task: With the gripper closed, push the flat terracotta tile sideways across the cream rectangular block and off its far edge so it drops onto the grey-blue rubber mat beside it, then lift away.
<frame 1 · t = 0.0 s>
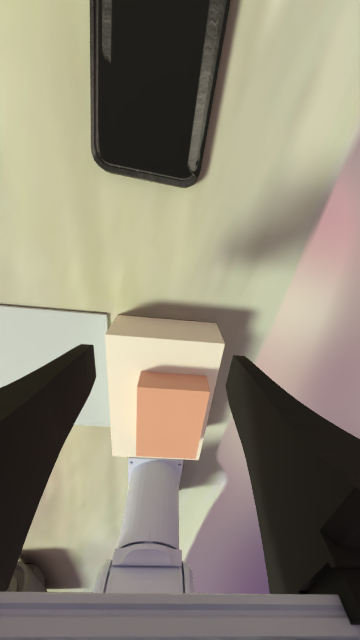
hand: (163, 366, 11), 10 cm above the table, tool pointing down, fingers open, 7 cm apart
bluetooth speaker: (35, 571, 48), on the table
cream rectangular block: (162, 380, 24), on the table
terracotta tile: (170, 409, 20), point 4 cm above the table, touching cream rectangular block
phone: (158, 44, 13), on the table
mat: (43, 372, 23), on the table
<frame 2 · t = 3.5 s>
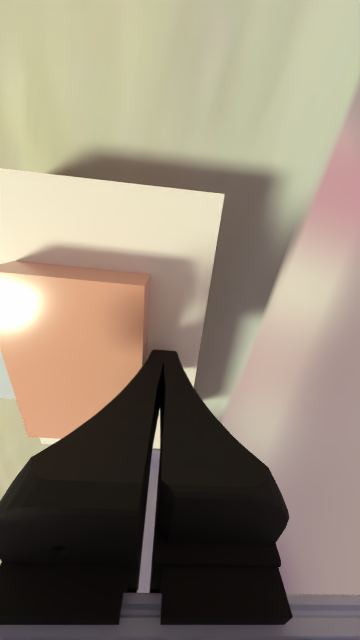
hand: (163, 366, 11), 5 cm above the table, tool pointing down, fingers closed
cream rectangular block: (124, 321, 15), on the table
terracotta tile: (91, 350, 11), point 4 cm above the table, touching cream rectangular block, gripper
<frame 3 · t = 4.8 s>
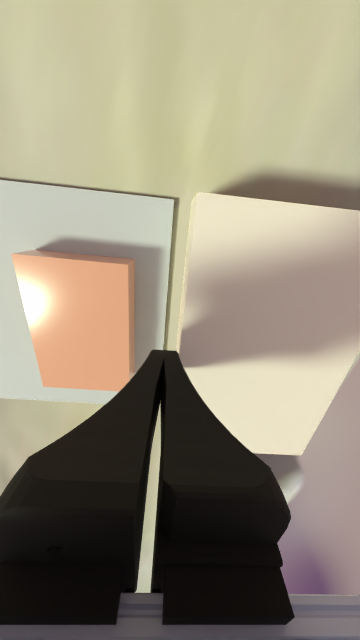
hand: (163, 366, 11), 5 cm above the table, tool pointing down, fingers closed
cream rectangular block: (244, 331, 15), on the table
terracotta tile: (79, 334, 13), point 2 cm above the table, tilted 180°, touching mat
mat: (60, 316, 15), on the table
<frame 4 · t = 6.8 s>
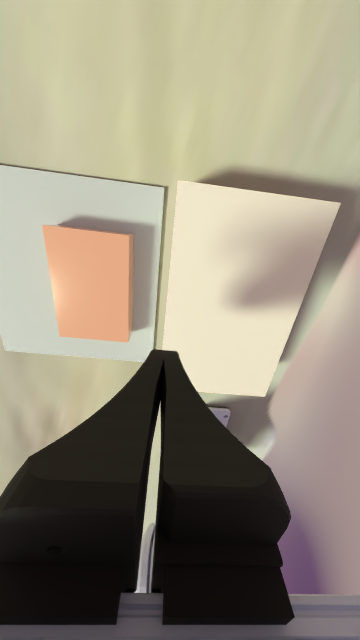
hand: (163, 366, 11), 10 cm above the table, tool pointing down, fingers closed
cream rectangular block: (221, 297, 19), on the table
terracotta tile: (90, 291, 16), point 2 cm above the table, tilted 180°, touching mat
mat: (73, 281, 18), on the table
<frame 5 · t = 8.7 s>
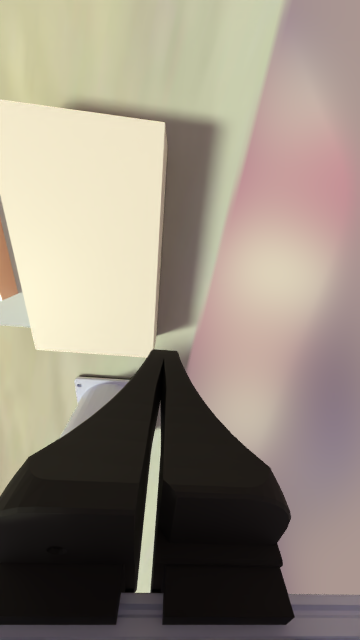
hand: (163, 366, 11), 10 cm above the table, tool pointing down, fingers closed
cream rectangular block: (104, 252, 18), on the table
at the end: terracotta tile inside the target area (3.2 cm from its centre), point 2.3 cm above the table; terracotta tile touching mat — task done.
